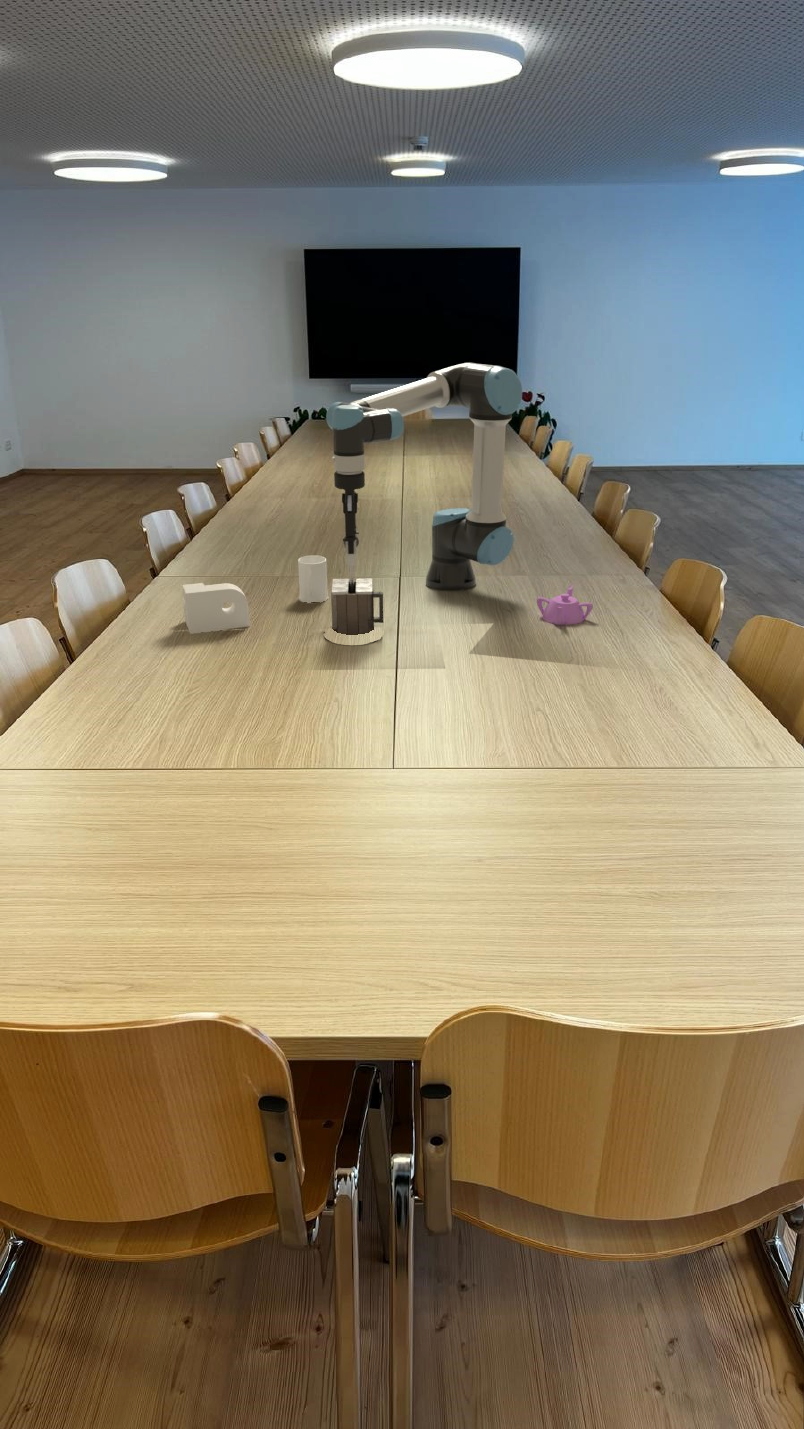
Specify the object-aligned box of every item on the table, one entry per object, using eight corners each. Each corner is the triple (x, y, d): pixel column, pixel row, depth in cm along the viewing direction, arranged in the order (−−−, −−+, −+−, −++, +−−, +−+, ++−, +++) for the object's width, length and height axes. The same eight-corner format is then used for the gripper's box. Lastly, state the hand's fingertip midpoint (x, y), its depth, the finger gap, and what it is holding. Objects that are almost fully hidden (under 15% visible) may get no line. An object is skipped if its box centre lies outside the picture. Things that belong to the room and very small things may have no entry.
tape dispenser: (190, 638, 258) (185, 593, 252) (185, 624, 267) (180, 580, 261) (250, 631, 262) (247, 587, 257) (243, 618, 271) (240, 574, 265)
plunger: (366, 606, 260) (365, 530, 251) (366, 616, 254) (364, 538, 244) (339, 607, 260) (337, 530, 251) (338, 616, 254) (336, 538, 244)
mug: (323, 608, 277) (321, 568, 272) (293, 607, 278) (291, 567, 273) (331, 594, 288) (329, 555, 282) (302, 593, 289) (300, 554, 283)
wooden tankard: (383, 624, 265) (382, 577, 259) (383, 640, 254) (383, 592, 249) (332, 624, 264) (330, 578, 259) (330, 640, 254) (329, 592, 248)
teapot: (569, 614, 273) (572, 584, 269) (595, 631, 262) (598, 600, 258) (531, 619, 269) (533, 589, 265) (556, 637, 258) (559, 606, 254)
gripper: (335, 463, 248) (338, 552, 258) (332, 479, 233) (335, 573, 243) (364, 463, 248) (366, 552, 258) (364, 479, 233) (366, 572, 243)
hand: (351, 562), depth 251 cm, fingers closed on plunger, 4 cm apart
